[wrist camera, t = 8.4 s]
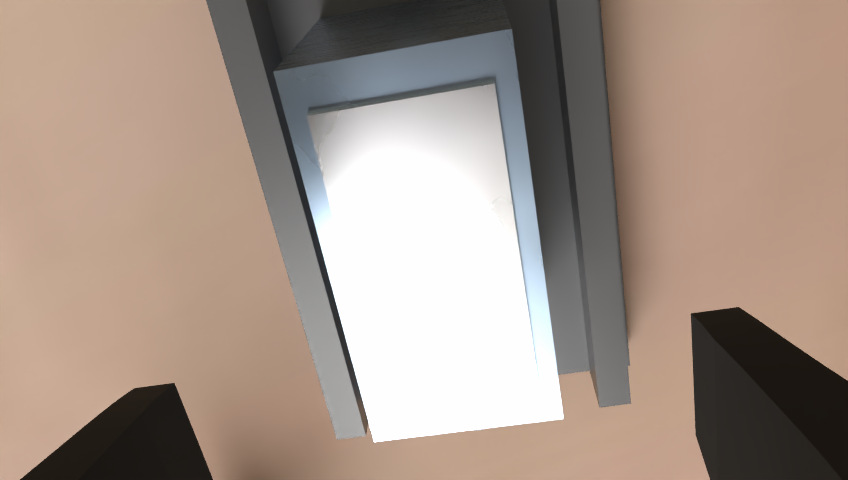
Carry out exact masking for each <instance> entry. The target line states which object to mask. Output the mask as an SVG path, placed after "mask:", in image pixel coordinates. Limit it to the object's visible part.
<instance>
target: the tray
mask: <svg viewBox="0 0 848 480" xmlns="http://www.w3.org/2000/svg"><path fill="white" fill-rule="evenodd" d="M206 1H207V5H208V8H209V12H210V15H211V18H212V22H213V25H214V28H215V32H216V35H217V38H218V42H219V45H220V48H221V52H222V55H223V59H224V62H225V65H226V69H227V72H228V75H229V79H230V82H231V85H232V89H233V92H234V95H235V99H236V102H237V106H238V109H239V112H240V116H241V119H242V122H243V126H244V129H245V132H246V136H247V139H248V143H249V146H250V149H251V153H252V156H253V159H254V163H255V166H256V169H257V173H258V176H259V179H260V183H261V186H262V190H263V193H264V196H265V200H266V203H267V206H268V210H269V213H270V216H271V220H272V223H273V226H274V230H275V233H276V237H277V240H278V243H279V247H280V250H281V253H282V257H283V260H284V263H285V267H286V270H287V273H288V277H289V280H290V284H291V287H292V290H293V294H294V297H295V300H296V304H297V307H298V310H299V314H300V317H301V321H302V324H303V327H304V331H305V334H306V337H307V341H308V344H309V347H310V351H311V354H312V357H313V361H314V364H315V368H316V371H317V374H318V378H319V381H320V384H321V388H322V391H323V394H324V398H325V401H326V404H327V408H328V411H329V415H330V418H331V421H332V425H333V428H334V431H335V435H336V438H337V440H338V439H346V438H354V437H362V436H366V432H367V426H368V418H367V414H366V411H365V407H364V403H363V400H362V396H361V392H360V388H359V385H358V381H357V377H356V374H355V370H354V366H353V363H352V359H351V355H350V352H349V348H348V344H347V341H346V337H345V333H344V330H343V326H342V322H341V319H340V315H339V311H338V308H337V304H336V300H335V297H334V293H333V289H332V286H331V282H330V278H329V275H328V271H327V267H326V264H325V260H324V256H323V253H322V249H321V245H320V242H319V238H318V234H317V231H316V227H315V223H314V220H313V216H312V212H311V209H310V205H309V201H308V198H307V194H306V190H305V187H304V183H303V179H302V176H301V172H300V168H299V165H298V161H297V157H296V154H295V150H294V146H293V143H292V139H291V135H290V132H289V128H288V124H287V121H286V117H285V113H284V110H283V106H282V102H281V99H280V95H279V91H278V88H277V84H276V80H275V76H274V73H273V71H274V70H275V69H276V68H277V67H278V66H279V64H280V63H281V62H282V61H283V60H284V59H285V58H286V56H287V55H288V54H289V53H290V52H291V51H292V50H293V48H294V47H295V46H296V45H297V44H298V43H299V42H300V40H301V39H302V38H303V37H304V36H305V35H306V34H307V32H308V31H309V30H310V29H311V28H312V27H313V26H314V24H315V23H316V22H317V21H318V20H319V19H320V18H322V17H327V16H333V15H338V14H343V13H349V12H354V11H359V10H365V9H370V8H375V7H381V6H386V5H391V4H397V3H402V2H408V1H413V0H206ZM502 2H503V5H504V8H505V11H506V13H507V16H508V19H509V22H510V25H511V28H512V34H513V41H514V49H515V56H516V64H517V71H518V79H519V86H520V94H521V101H522V109H523V116H524V124H525V131H526V139H527V146H528V154H529V161H530V169H531V177H532V184H533V192H534V199H535V207H536V214H537V222H538V229H539V237H540V244H541V252H542V259H543V267H544V274H545V282H546V289H547V297H548V304H549V312H550V319H551V327H552V334H553V342H554V350H555V357H556V365H557V372H558V375H560V374H568V373H575V372H583V371H590V374H591V377H592V381H593V385H594V389H595V392H596V396H597V400H598V404H599V407H607V406H615V405H623V404H631V399H630V387H629V375H628V366H630V361H629V349H628V337H627V325H626V312H625V300H624V288H623V276H622V263H621V251H620V239H619V227H618V215H617V202H616V190H615V178H614V166H613V153H612V141H611V129H610V117H609V104H608V92H607V80H606V68H605V55H604V43H603V31H602V19H601V6H600V0H502ZM485 429H486V428H485ZM477 430H483V429H477ZM477 430H476V431H477Z"/></svg>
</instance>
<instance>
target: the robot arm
mask: <svg viewBox="0 0 848 480" xmlns="http://www.w3.org/2000/svg"><path fill="white" fill-rule="evenodd" d="M691 327H692V352H693V377H694V403H695V428H696V437H697V440H698V443H699V446H700V449H701V453H702V456H703V459H704V462H705V465H706V468H707V471H708V474H709V477H710V480H848V381H847V380H846V379H844V378H843V377H841V376H839V375H838V374H836V373H835V372H833V371H832V370H830V369H829V368H827V367H826V366H824V365H823V364H821V363H820V362H818V361H817V360H815V359H814V358H812V357H811V356H809V355H808V354H806V353H805V352H803V351H802V350H801V349H799V348H798V347H796V346H795V345H793V344H792V343H790V342H789V341H787V340H786V339H785V338H783V337H782V336H780V335H779V334H777V333H776V332H774V331H773V330H772V329H770V328H769V327H767V326H766V325H764V324H763V323H762V322H760V321H759V320H757V319H756V318H754V317H753V316H751V315H750V314H748V313H747V312H745V311H744V310H742V309H741V308H739V307H736V308H729V309H721V310H714V311H706V312H699V313H691ZM20 480H213V479H212V476H211V473H210V471H209V468H208V466H207V463H206V461H205V458H204V456H203V453H202V451H201V448H200V446H199V443H198V441H197V438H196V436H195V433H194V431H193V428H192V426H191V423H190V421H189V418H188V416H187V413H186V411H185V408H184V406H183V403H182V401H181V398H180V396H179V393H178V391H177V388H176V386H175V383H171V384H163V385H156V386H148V387H141V388H134V389H133V390H131V391H130V392H128V393H127V394H125V395H124V396H123V397H121V398H120V399H118V400H117V401H116V402H114V403H113V404H112V405H111V406H109V407H108V408H107V409H105V410H104V411H103V412H102V413H100V414H99V415H98V416H97V417H95V418H94V419H93V420H92V421H90V422H89V423H88V424H87V425H86V426H84V427H83V428H82V429H81V430H79V431H78V432H77V433H76V434H75V435H73V436H72V437H71V438H70V439H69V440H67V441H66V442H65V443H64V444H63V445H61V446H60V447H59V448H58V449H57V450H55V451H54V452H53V453H52V454H51V455H49V456H48V457H47V458H46V459H44V460H43V461H42V462H41V463H40V464H38V465H37V466H36V467H35V468H34V469H32V470H31V471H30V472H29V473H28V474H26V475H25V476H24V477H23V478H21V479H20Z"/></svg>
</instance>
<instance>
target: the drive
mask: <svg viewBox="0 0 848 480" xmlns="http://www.w3.org/2000/svg"><path fill="white" fill-rule="evenodd" d="M273 73H274V76H275V80H276V84H277V88H278V91H279V95H280V99H281V102H282V106H283V110H284V113H285V117H286V121H287V124H288V128H289V132H290V135H291V139H292V143H293V146H294V150H295V154H296V157H297V161H298V165H299V168H300V172H301V176H302V179H303V183H304V187H305V190H306V194H307V198H308V201H309V205H310V209H311V212H312V216H313V220H314V223H315V227H316V231H317V234H318V238H319V242H320V245H321V249H322V253H323V256H324V260H325V264H326V267H327V271H328V275H329V278H330V282H331V286H332V289H333V293H334V297H335V300H336V304H337V308H338V311H339V315H340V319H341V322H342V326H343V330H344V333H345V337H346V341H347V344H348V348H349V352H350V355H351V359H352V363H353V366H354V370H355V374H356V377H357V381H358V385H359V388H360V392H361V396H362V400H363V403H364V407H365V411H366V414H367V418H368V422H369V425H370V429H371V433H372V436H373V440H374V442H379V441H387V440H395V439H403V438H411V437H420V436H428V435H436V434H444V433H452V432H461V431H469V430H477V429H485V428H493V427H502V426H510V425H518V424H526V423H534V422H542V421H551V420H559V419H564V417H563V410H562V402H561V395H560V387H559V380H558V372H557V365H556V357H555V350H554V342H553V334H552V327H551V319H550V312H549V304H548V297H547V289H546V282H545V274H544V267H543V259H542V252H541V244H540V237H539V229H538V222H537V214H536V207H535V199H534V192H533V184H532V177H531V169H530V161H529V154H528V146H527V139H526V131H525V124H524V116H523V109H522V101H521V94H520V86H519V79H518V71H517V64H516V56H515V49H514V41H513V34H512V28H511V25H510V22H509V19H508V16H507V13H506V11H505V8H504V5H503V2H502V0H413V1H408V2H402V3H397V4H391V5H386V6H381V7H375V8H370V9H365V10H359V11H354V12H349V13H343V14H338V15H333V16H327V17H322V18H320V19H319V20H318V21H317V22H316V23H315V24H314V26H313V27H312V28H311V29H310V30H309V31H308V32H307V34H306V35H305V36H304V37H303V38H302V39H301V40H300V42H299V43H298V44H297V45H296V46H295V47H294V48H293V50H292V51H291V52H290V53H289V54H288V55H287V56H286V58H285V59H284V60H283V61H282V62H281V63H280V64H279V66H278V67H277V68H276V69H275V70H274V71H273Z"/></svg>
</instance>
